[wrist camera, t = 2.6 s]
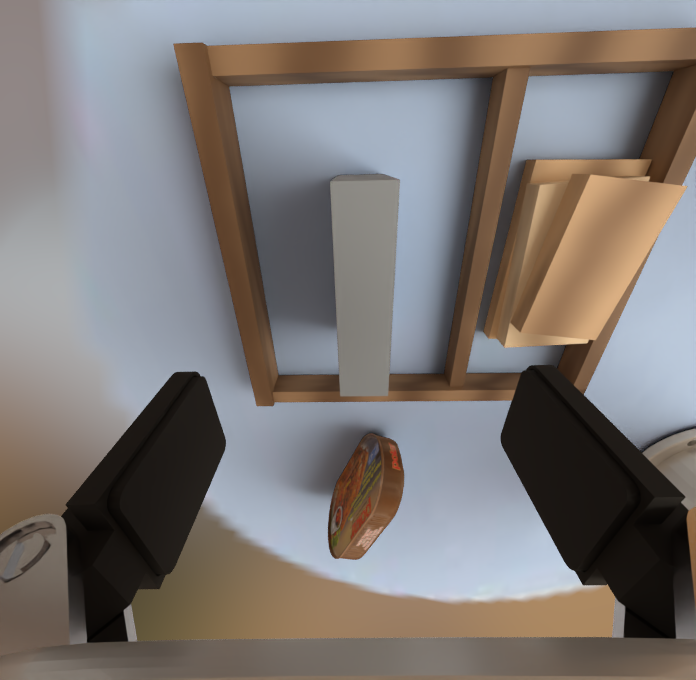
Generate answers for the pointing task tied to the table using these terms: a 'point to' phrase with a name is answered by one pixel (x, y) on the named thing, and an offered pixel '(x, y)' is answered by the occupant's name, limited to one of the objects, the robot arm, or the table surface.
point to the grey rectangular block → (364, 278)
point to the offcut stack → (574, 248)
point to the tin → (365, 497)
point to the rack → (497, 146)
